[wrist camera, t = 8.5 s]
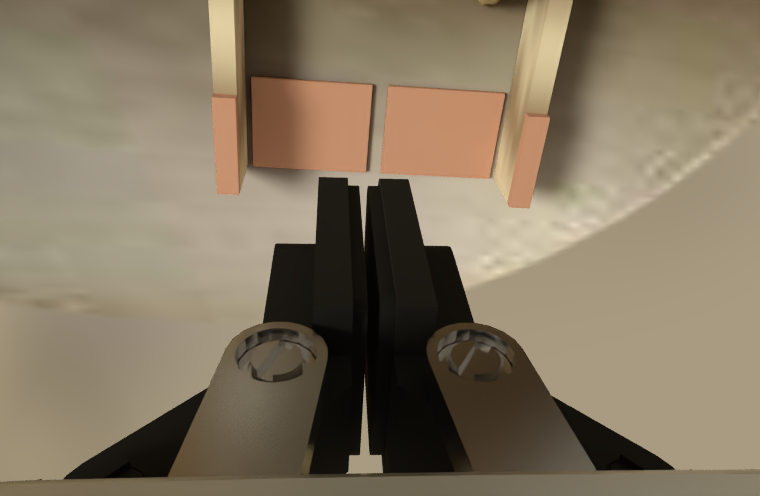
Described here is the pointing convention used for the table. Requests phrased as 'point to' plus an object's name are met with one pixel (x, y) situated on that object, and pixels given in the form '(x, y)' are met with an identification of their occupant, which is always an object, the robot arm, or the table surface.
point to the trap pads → (351, 131)
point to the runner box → (526, 95)
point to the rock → (488, 2)
